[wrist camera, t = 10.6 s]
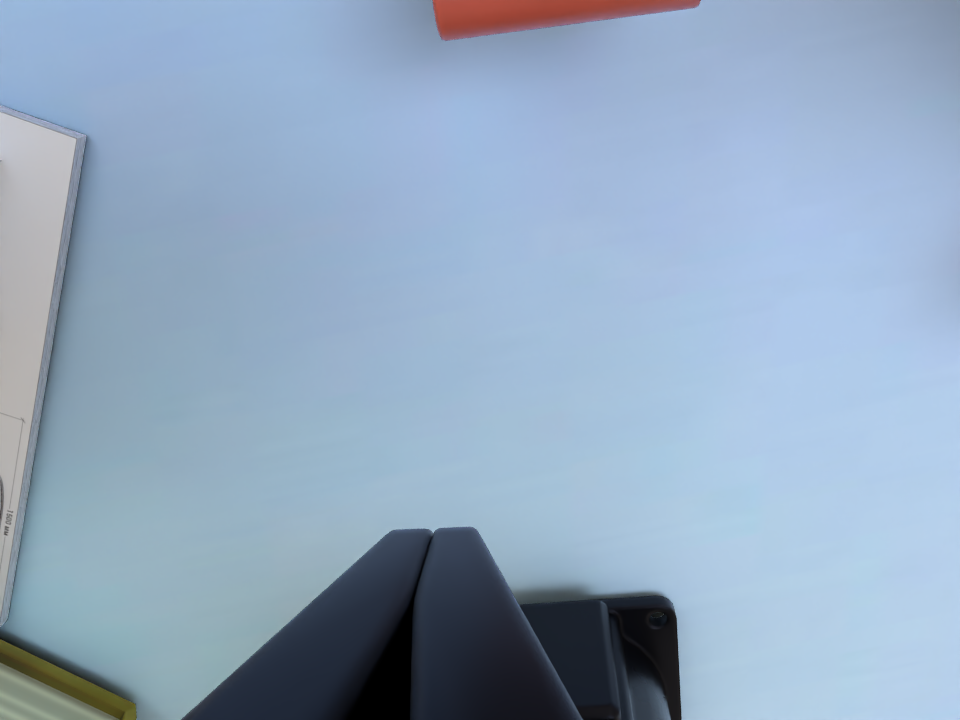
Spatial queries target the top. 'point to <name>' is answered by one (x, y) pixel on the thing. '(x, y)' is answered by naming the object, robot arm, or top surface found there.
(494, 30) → the handle
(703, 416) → the top surface
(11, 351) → the car cutout
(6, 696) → the hardcover book
